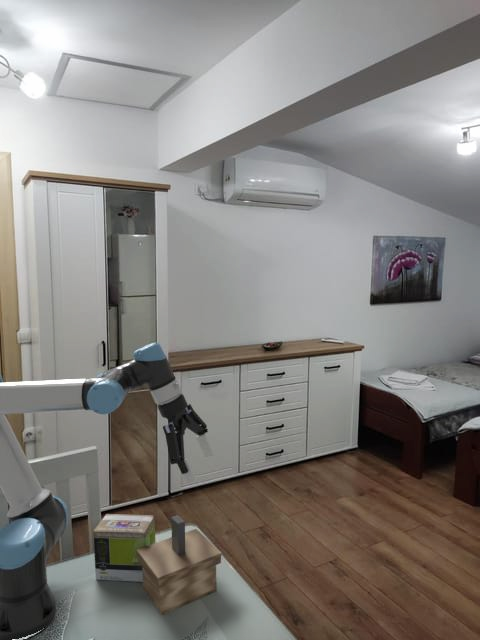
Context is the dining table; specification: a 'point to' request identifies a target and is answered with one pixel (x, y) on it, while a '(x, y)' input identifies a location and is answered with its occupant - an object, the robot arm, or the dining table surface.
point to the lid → (178, 555)
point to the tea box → (122, 546)
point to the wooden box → (180, 590)
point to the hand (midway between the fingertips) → (201, 468)
